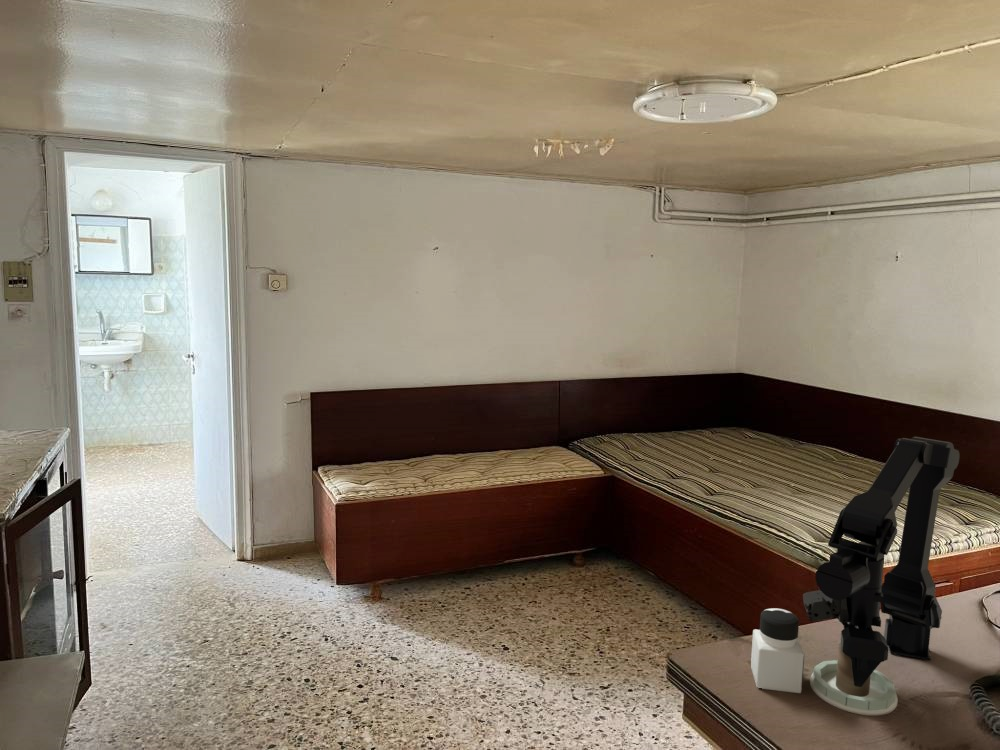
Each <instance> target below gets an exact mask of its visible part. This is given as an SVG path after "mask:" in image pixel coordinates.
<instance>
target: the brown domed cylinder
mask: <svg viewBox="0 0 1000 750" xmlns="http://www.w3.org/2000/svg"><path fill="white" fill-rule="evenodd" d="M837 651H838V653H837V660H838V661H837V674H836V687H837V688H838V689H839V690H840V691H842V692H844V693H846V694H848V695H853V696H858V697H864V696H867V695H868V694H869V689H870V677H871V675H870V676H869V678H868V679H867V680H866V682H865V683H864V684H863V686H862V687H857V686H854V682H853V674H852V666H851V659H850V658H849V657H848V656H847V655H845V654H844V653H843V652H842V648H841V641H840V642H839V643H838V650H837Z"/></svg>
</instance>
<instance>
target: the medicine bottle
mask: <svg viewBox="0 0 1000 750" xmlns="http://www.w3.org/2000/svg"><path fill="white" fill-rule="evenodd" d="M759 618H760V620H759V629H756V628H755V629H753V630H752V643H751V644H752V645H751V656H750V657H751V660H750V667H751V672H752V675H753V679H754V682H755V685H756V688H757V687H758V688H757V689H759V688H762V689H761V690H770V691H777V692H786V693H793V694H801V693H802V691H803V690H802V689H803V679H804V665H805V653H804V650H803V648H802V645H801V644H800V640H799V626H800V619H799V618H798V616H797V615H796V614H794V613H792V612H791V611H789V610H786V609H783V608H776V607H775V608H774V607H773V608H772V607H771V608H766V609H764V610H763V611H761V613H760V617H759Z"/></svg>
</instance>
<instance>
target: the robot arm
mask: <svg viewBox="0 0 1000 750" xmlns="http://www.w3.org/2000/svg"><path fill="white" fill-rule="evenodd" d="M959 463H960V451H959V450H958V449H955V447H954V444H953V442H950V441H943V440H939V439H938V440H936V439H931V438H925V437H920V436H912V437H911V438H906V437H902V438H897V439H896V440H895V442H894V443H893V449H892V453H891V454H890V456H889V457H888V459H887V460H886V462H885V463H884V465H883V467H882V468H881V469H880V471H879V472H878V474H877V476H876V478H875V479H874V480H873V482H872V484H871V486H870V487H869V488H868V489H867V491H865V492H863V493H860V494H857V495H854V496H853V497H852V498H851V499H850V501H849V502H848V503H847V504H846V505H845V507H844V508H842V509H841V511H840V512H839V515H838V517H837V520H836V522H835V524H834V527H833V529H832V533H831V536H830V537H829V541H828V543H827V547H829V548H833V549H837V552H834V553H831V554H830V555H829V560H828V561H825V562H823V563H822V564H820V565H819V567H817V570H816V572H815V578H814V579H815V583H816V585H817V587H818V590H813V591H812V590H811V591H807V592H805V593H803V594H802V600H803V605H804V609H805V610H806V614H807V616H808V617H807V618H808V620H809V622H813V623H816V622H817V623H818V622H820V621H825V620H830V619H834V618H836V619H837V620H838V621H839V622H840V623H841V624H842V626H843V629H842V630H841V631H840V642H841V648H842V652H843V653H844V654H845V655H847V656H848V657H849V658H850V659H851V666H852V674H853V682H854V686H857V687H862V686H863V684H864V683H865V682H866V680H867V679H868V678H869V676H870V675H871V674H872V673H873V671H874V670H877V668H878V667H879V666H880V665H881V663H883V662H885V661H888V658H889V657H888V656H889V653H891V655H892V654H893V655H899V656H902V657H903V656H904V657H909V658H916V659H921V660H928V661H930V660H931V658H932V657H931V654H930V652H929V649H930V641H931V640H930V639H931V629H939V628H940V627H941V620H942V617H943V616H942V613H943V610H942V607H941V606H940V602H939V601H938V599H937V597H936V583H935V581H934V579H933V577H932V575H931V573H930V570H929V562H930V555H931V550H932V542H933V537H934V530H935V524H936V516H937V512H938V511H937V510H938V506H939V505H938V504H939V499H940V498H939V497H940V493H941V490H942V488H943V487H945V486H946V484H948V483H949V482H950V480H952V478H953V477H954V472H955V470H956V469H957V467H958V466H959ZM907 492H908V497H907V504H906V509H905V515H904V523H903V528H902V536H901V541H900V546H899V547H900V548H899V555H898V560H897V564H896V565H894V567H893V568H892V569H891V570H890V571H887V572H886V573H885V574H884V567H885V565H884V564H885V555H886V556H888V555H889V552H890V549H891V547H892V545H893V543H894V541H895V539H896V537H897V534H898V528H897V527H898V522H897V517H896V511H897V509H898V507H899V505H900V504H901V502H902V501H903V499H904V498H905V496H906V494H907ZM843 536H844V537H846V538H848V539H846V538H843ZM849 539H851V540H849ZM853 540H855V541H853ZM856 541H858V542H856ZM883 575H884V579H883ZM880 612H881V613H883V614H886V615H889V616H888V617H889V618H886V619H885V624H884V634H883V635H882V633H881V632H880V631H876V630H873V627H878V628H881V626H882V619H881V617H880ZM872 626H873V627H872Z"/></svg>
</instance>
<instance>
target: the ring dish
mask: <svg viewBox="0 0 1000 750" xmlns="http://www.w3.org/2000/svg"><path fill="white" fill-rule="evenodd" d="M837 661H838V659H835V660H823V661H821V662H820V663H819V664H817V665H815V666H814V667H813V672H812V674H811V675H810V679H809V684H810V687H811V690H812V691H813V692H814V694H816V696H817V697H818V698H820V699H821V700H822V701H824V702H826V703H828V704H829V705H831V706H833V707H835V708H838V709H840V710H842V711H845V712H849V713H853V714H856V715H862V716H884V715H888V714H890V713H892V712H894V711H896V710H895V709H896V708H897V707H898V701H899V699H898V695H897V691H896V687H895V685H894V682H893V681H892V680H891V679H889V677H887V676H886V675H885V674H883V673H882V672H881V671H879V670H877V669H875V670H874V671H873V673H872V674H871V677H870V689H869V694H868V695H867V696H864V697H858V696H853V695H848V694H846V693H844V692H842V691H840V690H839V689H838V688H837V687H836V674H837Z"/></svg>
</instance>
